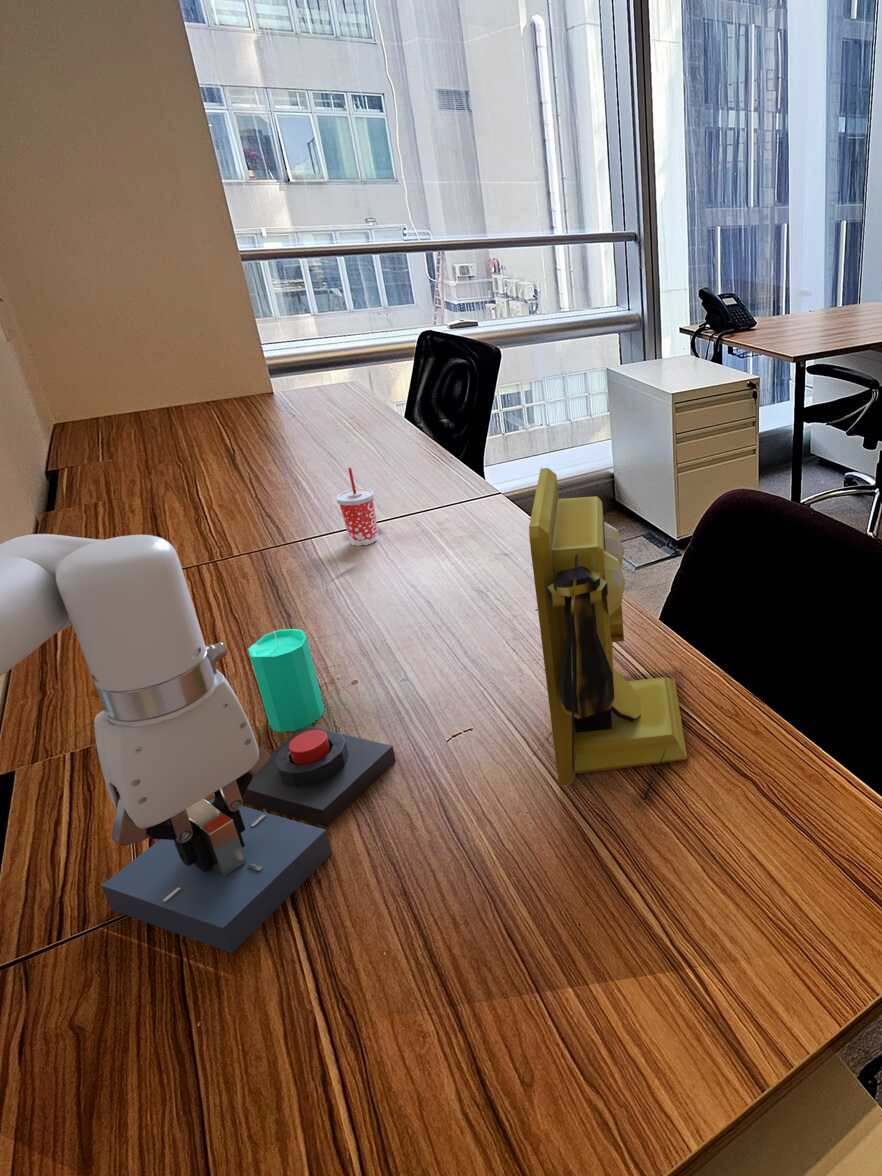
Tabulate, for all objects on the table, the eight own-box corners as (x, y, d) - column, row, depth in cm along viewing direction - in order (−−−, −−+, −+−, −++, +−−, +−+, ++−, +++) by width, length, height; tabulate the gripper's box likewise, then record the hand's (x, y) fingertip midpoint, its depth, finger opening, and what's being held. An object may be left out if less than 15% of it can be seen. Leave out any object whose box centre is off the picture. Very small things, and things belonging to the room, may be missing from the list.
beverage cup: (365, 549, 137) (350, 475, 132) (338, 545, 139) (322, 471, 134) (390, 536, 142) (376, 464, 137) (363, 531, 144) (348, 460, 139)
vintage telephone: (697, 825, 77) (688, 556, 66) (555, 844, 75) (520, 569, 64) (670, 653, 106) (660, 444, 95) (566, 663, 104) (543, 451, 93)
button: (284, 761, 81) (280, 748, 81) (311, 739, 84) (307, 726, 84) (311, 768, 80) (307, 755, 80) (337, 746, 83) (334, 733, 83)
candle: (309, 695, 98) (287, 612, 93) (334, 712, 95) (313, 627, 90) (259, 720, 93) (234, 634, 89) (284, 739, 90) (259, 651, 85)
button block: (235, 801, 81) (225, 770, 80) (310, 740, 90) (303, 712, 88) (327, 827, 78) (319, 796, 76) (396, 761, 86) (390, 732, 85)
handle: (189, 849, 71) (173, 805, 69) (212, 835, 73) (197, 791, 71) (223, 877, 68) (208, 832, 66) (247, 862, 70) (232, 817, 68)
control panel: (111, 910, 69) (100, 884, 68) (221, 820, 79) (213, 796, 77) (232, 953, 65) (222, 926, 64) (332, 853, 75) (325, 828, 73)
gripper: (234, 627, 72) (280, 784, 78) (18, 721, 59) (95, 898, 66) (280, 650, 68) (324, 813, 75) (60, 756, 55) (137, 940, 62)
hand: (216, 851), depth 70 cm, fingers closed on handle, 2 cm apart
